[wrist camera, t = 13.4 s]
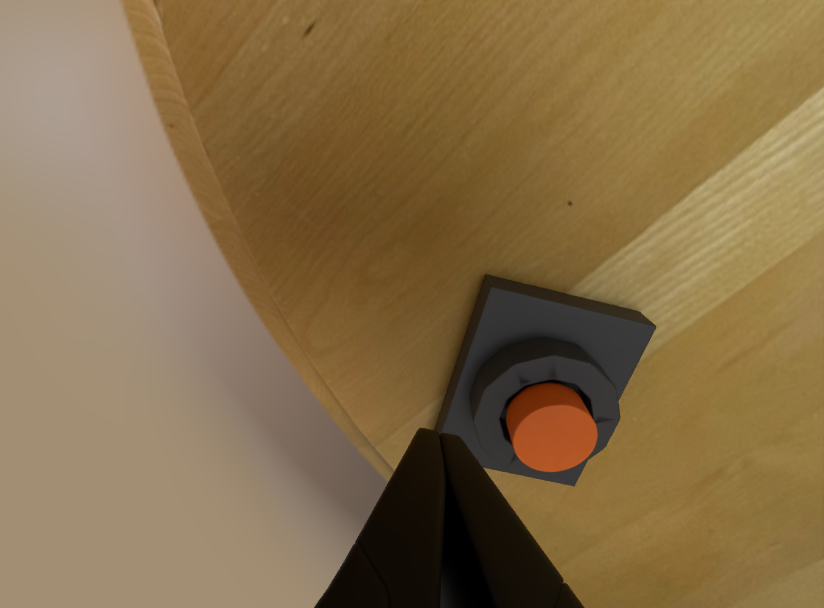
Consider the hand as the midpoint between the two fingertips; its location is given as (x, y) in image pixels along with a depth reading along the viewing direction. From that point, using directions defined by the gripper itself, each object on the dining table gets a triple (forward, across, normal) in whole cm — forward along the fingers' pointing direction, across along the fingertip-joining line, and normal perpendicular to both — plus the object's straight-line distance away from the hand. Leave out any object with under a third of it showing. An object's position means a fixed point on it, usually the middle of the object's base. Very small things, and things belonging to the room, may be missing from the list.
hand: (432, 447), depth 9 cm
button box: (+13, -7, +5) cm, 16 cm away
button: (+10, -7, +5) cm, 13 cm away
